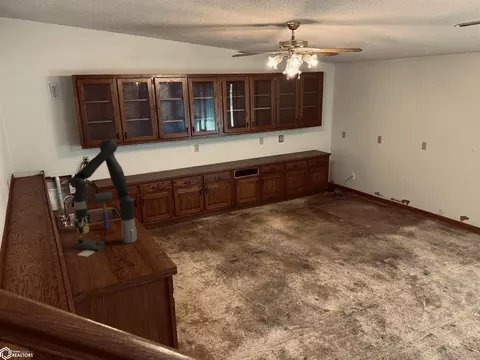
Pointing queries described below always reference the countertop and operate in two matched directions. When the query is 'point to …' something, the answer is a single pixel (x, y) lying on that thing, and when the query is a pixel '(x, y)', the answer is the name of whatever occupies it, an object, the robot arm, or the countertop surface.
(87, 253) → the felt mat
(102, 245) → the plane body
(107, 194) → the rubber mallet
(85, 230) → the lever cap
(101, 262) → the countertop surface
